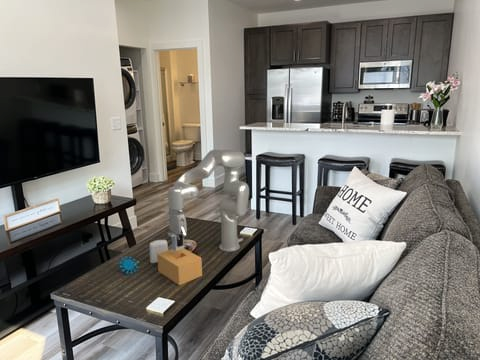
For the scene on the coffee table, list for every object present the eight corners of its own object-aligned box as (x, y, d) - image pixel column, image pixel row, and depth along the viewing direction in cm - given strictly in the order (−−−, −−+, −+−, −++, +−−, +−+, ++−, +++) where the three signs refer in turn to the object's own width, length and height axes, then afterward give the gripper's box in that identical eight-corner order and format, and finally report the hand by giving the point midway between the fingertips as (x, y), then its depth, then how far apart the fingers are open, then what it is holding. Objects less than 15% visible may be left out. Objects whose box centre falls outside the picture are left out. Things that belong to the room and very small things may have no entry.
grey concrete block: (183, 245, 189) (182, 228, 186) (187, 247, 186) (186, 230, 184) (168, 250, 183) (168, 233, 180) (172, 252, 180) (171, 235, 178)
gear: (123, 275, 183) (117, 257, 187) (119, 279, 187) (113, 262, 191) (142, 270, 191) (136, 253, 195) (138, 275, 195) (132, 258, 199)
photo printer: (167, 257, 206) (166, 237, 203) (169, 260, 203) (168, 240, 200) (149, 261, 202) (148, 240, 199) (151, 264, 198) (149, 243, 195)
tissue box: (180, 262, 200) (179, 246, 197) (202, 275, 185) (201, 257, 183) (158, 271, 190) (157, 253, 188) (179, 285, 176) (178, 266, 174)
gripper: (192, 213, 176) (193, 247, 180) (173, 205, 188) (175, 238, 192) (179, 216, 171) (181, 252, 175) (161, 208, 183) (163, 242, 187)
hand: (178, 244), depth 184 cm, fingers closed on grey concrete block, 3 cm apart
